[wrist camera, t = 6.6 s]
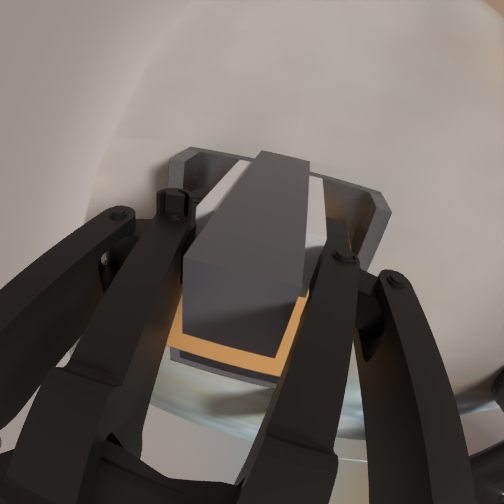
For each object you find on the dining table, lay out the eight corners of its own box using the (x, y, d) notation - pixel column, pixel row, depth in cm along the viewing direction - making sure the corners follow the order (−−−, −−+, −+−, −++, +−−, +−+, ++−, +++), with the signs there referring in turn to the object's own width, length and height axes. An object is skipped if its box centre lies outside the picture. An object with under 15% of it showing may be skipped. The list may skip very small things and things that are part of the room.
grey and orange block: (211, 128, 21) (55, 220, 8) (368, 165, 20) (449, 320, 7) (196, 285, 29) (126, 423, 16) (312, 315, 28) (297, 470, 15)
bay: (190, 146, 23) (169, 158, 20) (380, 192, 22) (391, 212, 18) (182, 336, 36) (170, 359, 33) (302, 368, 35) (299, 393, 32)
